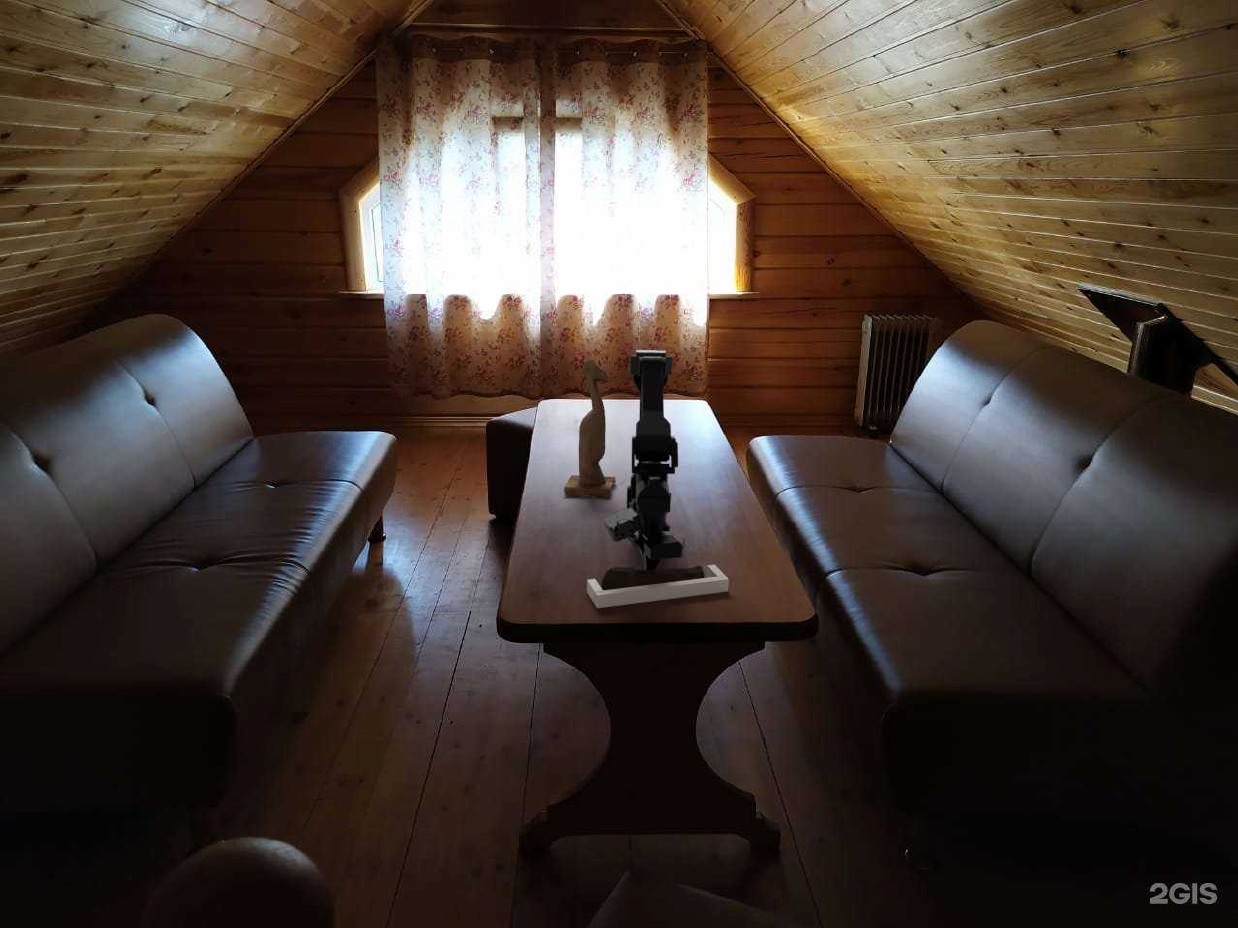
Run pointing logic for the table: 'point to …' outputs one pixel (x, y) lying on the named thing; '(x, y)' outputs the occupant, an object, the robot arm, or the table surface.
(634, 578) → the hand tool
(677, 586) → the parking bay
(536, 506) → the table surface
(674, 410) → the table surface
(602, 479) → the bird sculpture
